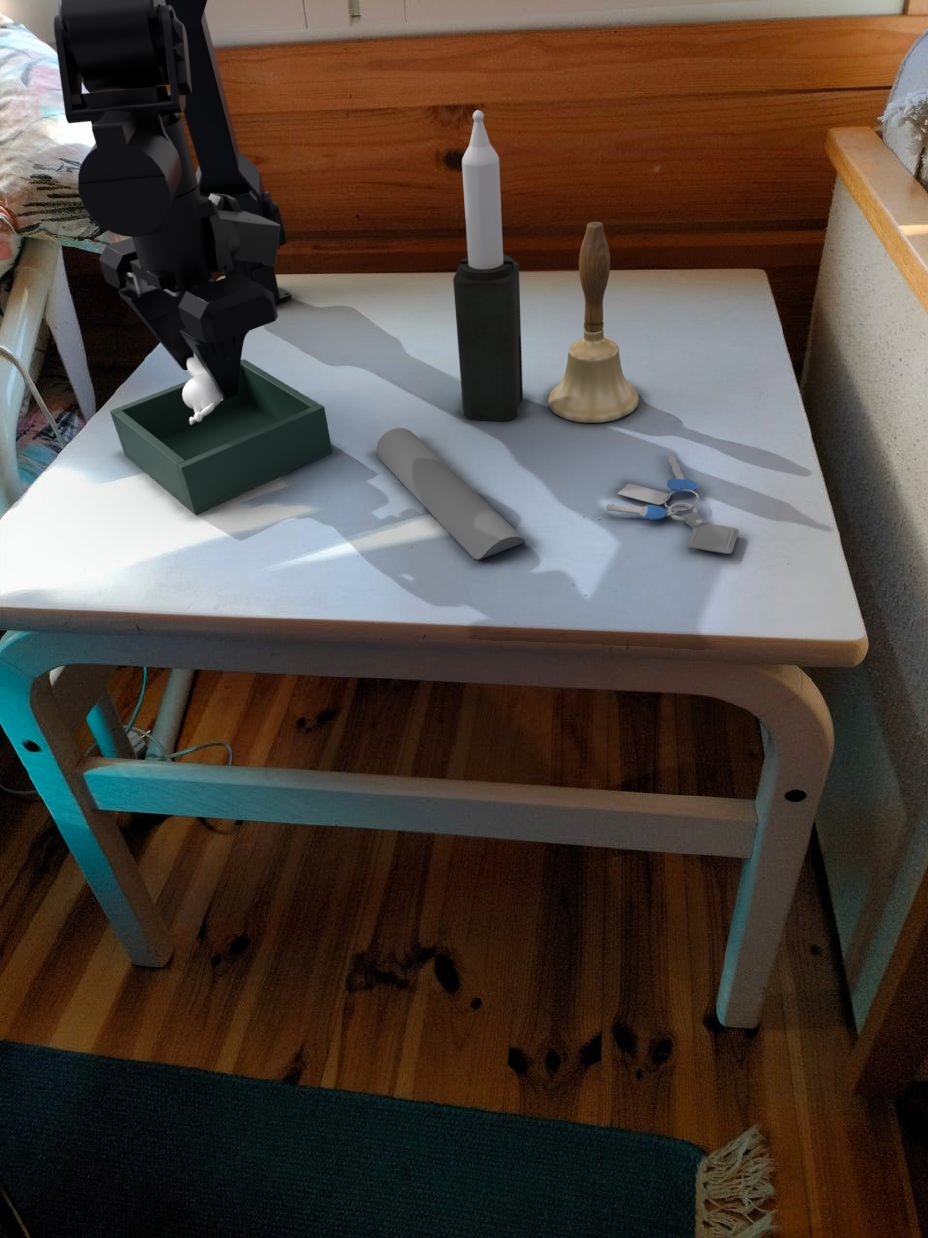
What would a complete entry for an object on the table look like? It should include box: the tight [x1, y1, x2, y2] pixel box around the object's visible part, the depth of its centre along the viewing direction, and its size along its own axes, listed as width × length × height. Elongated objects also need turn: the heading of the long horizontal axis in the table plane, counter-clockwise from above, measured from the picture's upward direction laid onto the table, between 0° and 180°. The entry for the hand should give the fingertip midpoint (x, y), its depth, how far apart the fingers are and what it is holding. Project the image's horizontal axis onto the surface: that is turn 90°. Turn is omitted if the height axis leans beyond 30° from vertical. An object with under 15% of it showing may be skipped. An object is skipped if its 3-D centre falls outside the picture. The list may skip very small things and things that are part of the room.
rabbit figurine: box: [182, 356, 223, 425], centre depth 81 cm, size 6×4×8 cm
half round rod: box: [375, 427, 527, 560], centre depth 78 cm, size 4×20×2 cm, turn 28°
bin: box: [109, 358, 333, 516], centre depth 84 cm, size 14×14×4 cm
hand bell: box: [547, 221, 640, 424], centre depth 84 cm, size 8×8×16 cm
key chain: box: [605, 452, 740, 555], centre depth 74 cm, size 14×8×1 cm, turn 15°
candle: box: [452, 109, 524, 422], centre depth 81 cm, size 5×5×25 cm
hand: (209, 382), depth 82 cm, fingers closed on rabbit figurine, 7 cm apart
